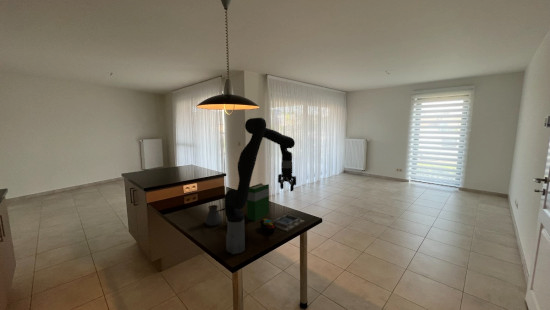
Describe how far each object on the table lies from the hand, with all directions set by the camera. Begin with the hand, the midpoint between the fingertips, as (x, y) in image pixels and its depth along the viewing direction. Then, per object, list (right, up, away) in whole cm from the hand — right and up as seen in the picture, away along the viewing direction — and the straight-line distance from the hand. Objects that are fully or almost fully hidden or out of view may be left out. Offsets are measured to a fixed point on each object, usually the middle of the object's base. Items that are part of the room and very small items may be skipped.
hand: (286, 190), depth 151 cm
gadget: (-11, -26, -11) cm, 30 cm away
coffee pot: (-47, -25, -2) cm, 53 cm away
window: (0, -24, +2) cm, 24 cm away
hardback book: (-21, -23, +15) cm, 34 cm away
